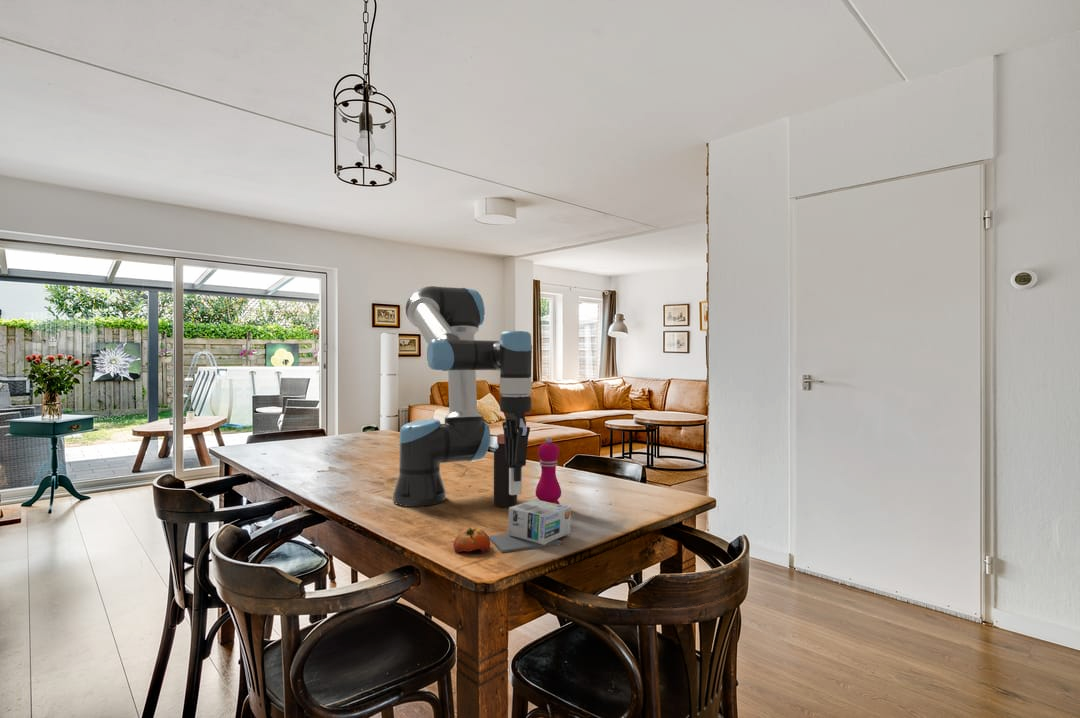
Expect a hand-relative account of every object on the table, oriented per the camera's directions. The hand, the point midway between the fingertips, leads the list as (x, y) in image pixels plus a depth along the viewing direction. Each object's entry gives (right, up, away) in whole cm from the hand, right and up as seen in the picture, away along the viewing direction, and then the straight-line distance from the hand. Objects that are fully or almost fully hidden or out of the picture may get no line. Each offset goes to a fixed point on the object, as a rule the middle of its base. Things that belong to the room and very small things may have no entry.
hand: (515, 493), depth 128 cm
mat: (+2, -9, -6) cm, 11 cm away
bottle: (-4, -10, +25) cm, 27 cm away
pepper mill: (+8, -10, +22) cm, 25 cm away
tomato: (-9, -10, -11) cm, 17 cm away
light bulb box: (+1, -6, +1) cm, 6 cm away
